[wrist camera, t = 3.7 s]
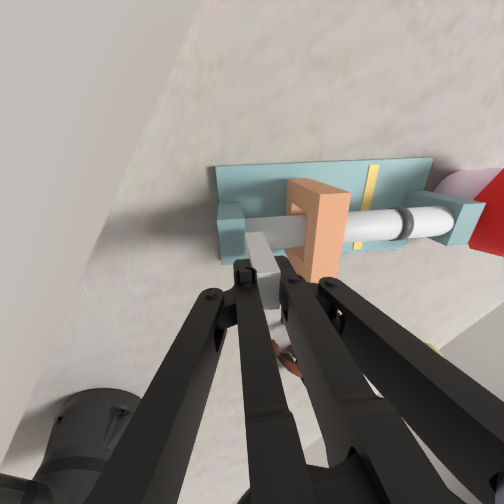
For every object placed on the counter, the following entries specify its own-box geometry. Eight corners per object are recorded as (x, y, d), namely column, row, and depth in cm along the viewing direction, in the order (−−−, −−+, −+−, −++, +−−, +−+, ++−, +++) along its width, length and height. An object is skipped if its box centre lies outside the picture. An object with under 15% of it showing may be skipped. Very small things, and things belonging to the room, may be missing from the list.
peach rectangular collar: (284, 251, 27) (309, 294, 19) (287, 178, 23) (320, 194, 15) (302, 250, 28) (334, 291, 20) (308, 177, 24) (351, 192, 16)
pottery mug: (261, 328, 36) (292, 349, 29) (301, 302, 40) (337, 316, 33) (279, 384, 39) (312, 417, 32) (315, 355, 43) (352, 378, 36)
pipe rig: (224, 259, 29) (225, 297, 22) (215, 166, 24) (211, 173, 16) (399, 245, 31) (453, 274, 24) (426, 157, 26) (506, 160, 19)
